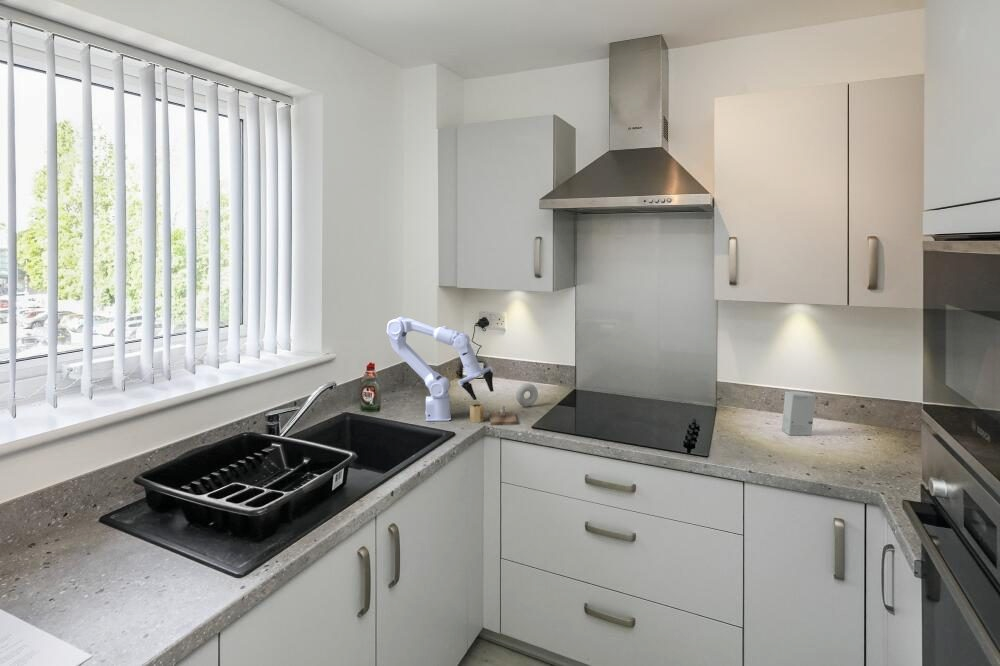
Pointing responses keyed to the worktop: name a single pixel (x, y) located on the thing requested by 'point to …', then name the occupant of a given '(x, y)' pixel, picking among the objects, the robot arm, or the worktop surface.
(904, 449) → the worktop surface
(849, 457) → the worktop surface
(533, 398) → the donut
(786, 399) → the skincare box
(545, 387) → the worktop surface
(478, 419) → the hub
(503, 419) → the shaft stand
